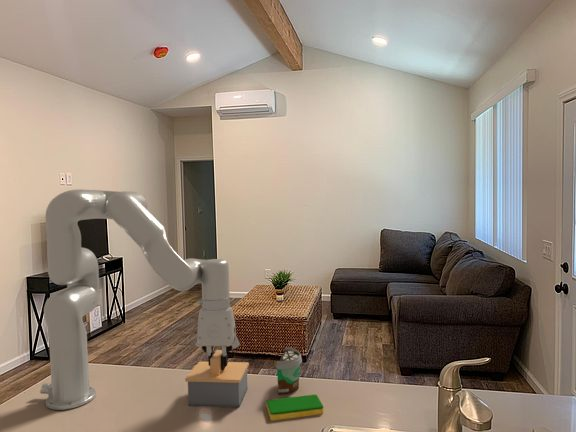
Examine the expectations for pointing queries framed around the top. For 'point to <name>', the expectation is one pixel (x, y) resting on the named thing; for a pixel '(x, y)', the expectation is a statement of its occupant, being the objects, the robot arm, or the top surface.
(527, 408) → the top surface
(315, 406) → the dish sponge
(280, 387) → the food container
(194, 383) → the tub
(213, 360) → the lid
